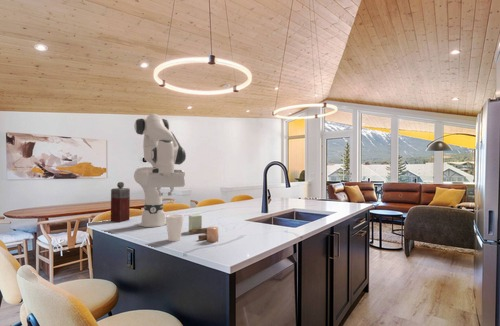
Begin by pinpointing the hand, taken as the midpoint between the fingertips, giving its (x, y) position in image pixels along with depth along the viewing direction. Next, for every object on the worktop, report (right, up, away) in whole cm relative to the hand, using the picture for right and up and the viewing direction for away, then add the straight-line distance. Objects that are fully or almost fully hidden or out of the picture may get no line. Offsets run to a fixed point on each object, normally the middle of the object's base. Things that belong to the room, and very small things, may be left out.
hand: (165, 195), depth 148 cm
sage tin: (+12, -25, +22) cm, 35 cm away
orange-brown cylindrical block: (+25, -24, +1) cm, 35 cm away
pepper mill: (-50, -25, +55) cm, 79 cm away
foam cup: (+4, -24, +3) cm, 25 cm away
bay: (+18, -24, +12) cm, 33 cm away
